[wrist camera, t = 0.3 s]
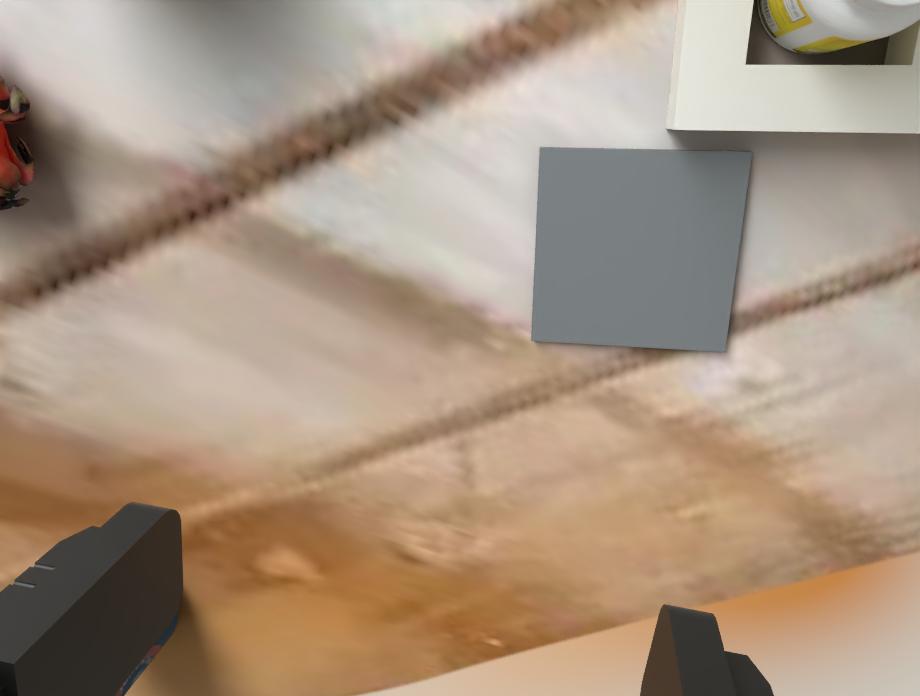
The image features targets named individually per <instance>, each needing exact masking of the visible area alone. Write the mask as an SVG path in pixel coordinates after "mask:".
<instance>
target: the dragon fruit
mask: <svg viewBox="0 0 920 696" xmlns="http://www.w3.org/2000/svg"><path fill="white" fill-rule="evenodd" d="M9 96H10V106H9V108H8V109H7V110H6V111H4V110H2V109H0V210H5V209H9V208H12V206H14V207H19V206H22V205H24V204H26V203H27V202H28V201H29V199H27V198H22V199H18V200H13V199H15V198H16V197H17V196H16V197H15V195H16V194H17V193H18V192H19V190H20V189H19V190H18V183H20V184H21V185H23V186H27V185H29V184H30V183H31V182H32V181H33V179H34V177H33V170H34V169H33V162H34V159H33V158H32V155H31V153H30V151H29V149H28V146H27V145H28V144H25V142H24V141H23V140H22V139H21V138H20V137H19V136H18V135H17V138H18V139H19V141H20V143H21V144H22V145H23V147H24V149H22V147H21V146H19V144H17V148H18V150H19V152H20V154H21V157H22V158H23V160H24V161H25V163H26V164H24V163H22V162H21V161H20V160H19V159H18V158H17V156H16V154H15V152H14V151H13V149H12V148H11V146H10V143H9V140H8V135H7V132H6V129H5V126H4V123H9V124H10V123H18V122H21V121H23V120H25V117H24V118H22V117H23V116H24V115H25V114H26V113H27V111H28V110H29V108H30V102H29V100H28V99H27V98H26V97H25V95H24V94H23V93H22V91H21V90H20V89H19V88H18V87H17V86H13V89H12V92H11V94H10V92H9V90H8V88H7V86H6V84H5V82H4V79H3V78H2V77H1V76H0V101H3V100H6V99H8V98H9ZM18 196H19V195H18ZM7 198H8V199H10V200H8V201H7Z"/></svg>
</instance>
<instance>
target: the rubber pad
mask: <svg viewBox="0 0 920 696" xmlns="http://www.w3.org/2000/svg"><path fill="white" fill-rule="evenodd" d="M751 158H752V152H750V151H707V150H655V149H604V148H552V147H540V158H539V180H538V202H537V224H536V246H535V269H534V291H533V313H532V335H531V341H542V342H559V343H576V344H593V345H610V346H627V347H644V348H661V349H678V350H695V351H712V352H725V349H726V342H727V334H728V327H729V320H730V312H731V305H732V298H733V290H734V283H735V276H736V268H737V261H738V253H739V246H740V239H741V231H742V224H743V217H744V209H745V202H746V195H747V187H748V180H749V173H750V165H751Z"/></svg>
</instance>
